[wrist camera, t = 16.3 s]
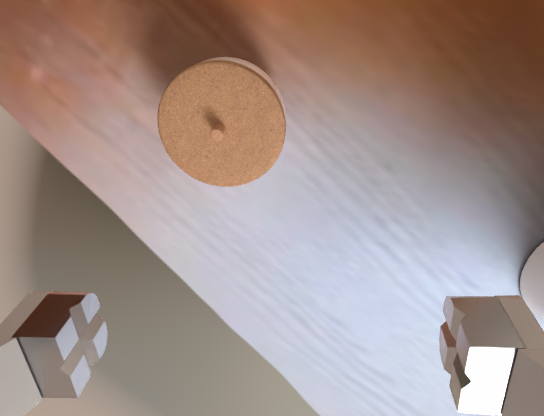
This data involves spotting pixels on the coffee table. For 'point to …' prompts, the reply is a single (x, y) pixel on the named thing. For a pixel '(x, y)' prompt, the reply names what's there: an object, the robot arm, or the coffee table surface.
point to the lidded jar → (222, 121)
